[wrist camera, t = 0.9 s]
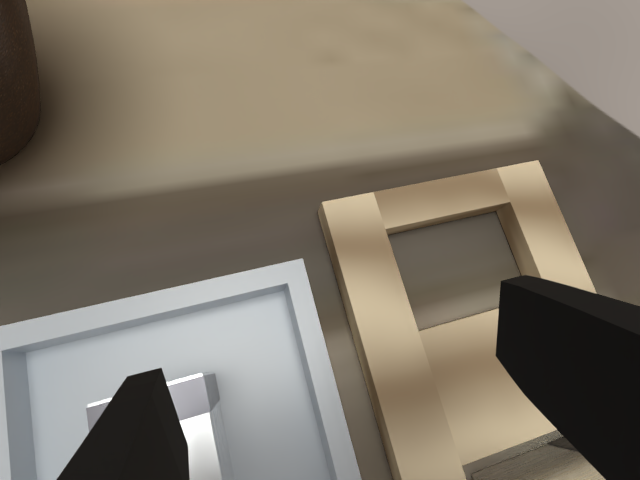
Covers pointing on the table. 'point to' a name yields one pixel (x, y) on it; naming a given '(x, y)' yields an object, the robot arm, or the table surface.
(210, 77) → the table surface
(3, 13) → the plant pot
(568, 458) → the block
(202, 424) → the loose billet
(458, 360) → the wooden frame board
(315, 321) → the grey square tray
